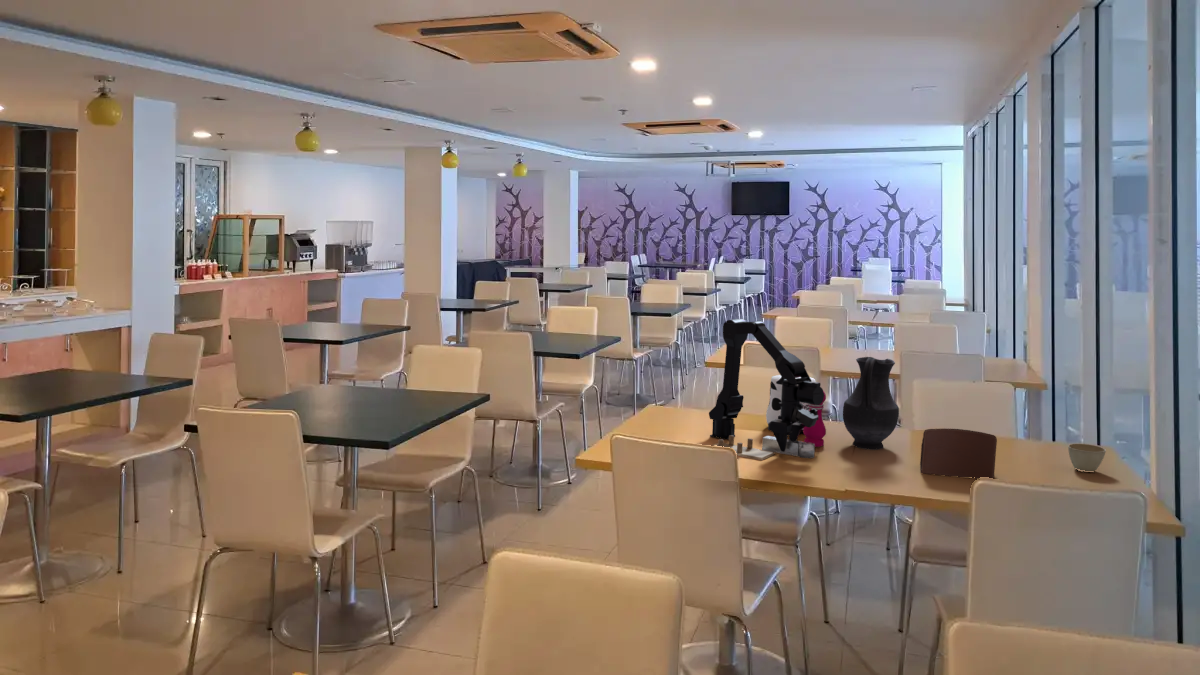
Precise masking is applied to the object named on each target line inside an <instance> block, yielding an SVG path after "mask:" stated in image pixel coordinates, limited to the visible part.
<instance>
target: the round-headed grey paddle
mask: <svg viewBox="0 0 1200 675" xmlns="http://www.w3.org/2000/svg"><path fill="white" fill-rule="evenodd" d="M761 443H762V444H761V445H762V446H761V450H766V451H772V452H775V454H776V453H777V454H781V455H782V454H783V455H787V456H793V457H794V456H795V457H799V458H801V459H814V458H815V444H814V443H811V442H804V441H802V440H797V441H796V440H790V439H788V438H787V443H786V449H785V451H784V452H782V451H781V449H780V447H779V445H778V442H777V440H776V438H775V436H771V435H765V436H763V437H762V442H761Z"/></svg>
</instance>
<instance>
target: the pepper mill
mask: <svg viewBox="0 0 1200 675" xmlns="http://www.w3.org/2000/svg"><path fill="white" fill-rule="evenodd" d="M823 392H824V399H823V401H822V403H821V404H820V405H813V404H808V408H809V411H810V410H811V409H813V408H814V409H816V410H817V411H818V420H817V421H816V423H815V425H814V426H811V427H810V428H809V427H804V429H803V435H804V436H805V437H804V439H803V442H811V443H814V444H815V447H816V448H820V447H821V448H822V447H823V446H824V445H825V440H824V437H826V434H827V429H826V425H825V423H824V420H823V410H824V409H825V407H824V406H825V403H824V402H825V401H826V399H827V395H826V392H825V391H824V390H823Z"/></svg>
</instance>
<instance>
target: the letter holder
mask: <svg viewBox="0 0 1200 675" xmlns="http://www.w3.org/2000/svg"><path fill="white" fill-rule="evenodd" d="M922 434H923V435H922V443H921V446H920V447H921V448H920V449H921V450H920V459H919V460H920V461H919V466H920V467H919V468H920V469H919V470H920V474H921V473H923V474H924V475H931V474H935V475H934V476H941V475H945V476H944V477H951V476H958V477H957V478H960V477H972V478H974V477H975V479H974V480H978V479H977V478H980V477H989V478H994V479H995V469H996V468H995V467H996V455H997V454H996V452H997V444H998V439H997V436H996V435H994V434H991V433H987V432H983V431H982V432H981V431H976V430H971V429H962V428H961V429H960V428H928V429H925V430H924V431H923V433H922ZM923 474H922V475H923Z"/></svg>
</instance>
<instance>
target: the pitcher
mask: <svg viewBox="0 0 1200 675" xmlns="http://www.w3.org/2000/svg"><path fill="white" fill-rule="evenodd" d="M855 360H856V363H857V364H858V367H859V372H860V377H859V380H858V381H857V384H856V387H855V388H854V389H853V392H851V394H850V396H849V397H848V398H847V399H845V401H844V403H843V407H842V420H843V424H844V427H845V429H846V430H847V432H848V433H849V435H850V436H851V437H852V438H853V439H854V440H853V442H852V445H853V446H854V447H855V448H858V449H864V450H870V451H871V450H872V451H873V450H874V451H875V450H876V451H877V450H882V449H884V444H883V441H884V440H886V439H887V438H888V437H890V436H891V435H892V433H893V432H894V430H895V429H896V427H897V424H898V421H899V417H900V416H899V414H900V408H899V404H897V403H896V402H895V400H894V399H893V396H892V394H891V390H890V389H891V388H890V375H891V374H890V373H891V371H892V369H893V367H894V366H895V364H896V361H895V360H893V359H890V358H886V359H885V358H884V359H879V358H875V357H872V356H865V357H864V356H863V357H857V358H856V359H855Z"/></svg>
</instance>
